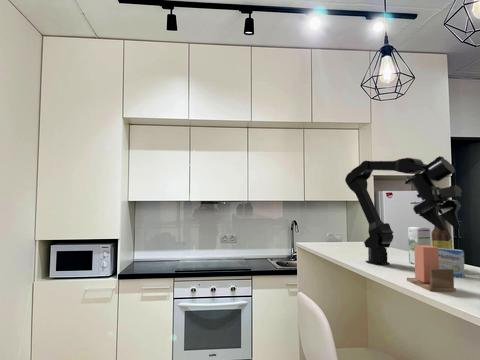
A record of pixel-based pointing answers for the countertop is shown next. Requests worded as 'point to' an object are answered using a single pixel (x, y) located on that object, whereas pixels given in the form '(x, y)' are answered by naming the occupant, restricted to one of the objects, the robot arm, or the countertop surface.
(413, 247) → the syrup box
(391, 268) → the countertop surface
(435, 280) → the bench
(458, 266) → the medicine box
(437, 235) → the sauce bottle
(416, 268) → the pink tall block
